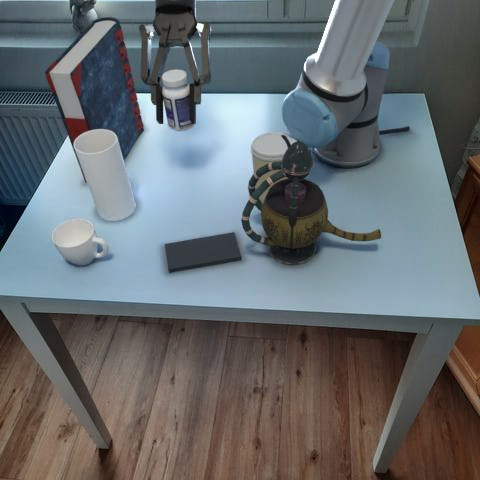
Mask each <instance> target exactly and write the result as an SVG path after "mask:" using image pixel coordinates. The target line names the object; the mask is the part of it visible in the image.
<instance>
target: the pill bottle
mask: <svg viewBox="0 0 480 480" xmlns="http://www.w3.org/2000/svg"><path fill="white" fill-rule="evenodd" d="M161 81H162V84H163V86H162V88H163V89H162V96H163V107H164V111H165V116H166V121H167V125H168V127H169V129H171V130H173V131H175V132H186V131H188V130H190V129H193V128H194V126H195V125H196V124H192V123H191V121H190V105H189V84H190V83H188V75H187V71H184V69H183V70H182V69H179V68H177V69H169V70H167V71H165V72H163V74H162V77H161Z"/></svg>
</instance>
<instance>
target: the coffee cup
mask: <svg viewBox="0 0 480 480" xmlns="http://www.w3.org/2000/svg"><path fill="white" fill-rule="evenodd" d="M281 135H285V136H286V137H287V138H288V140H289V142H290V144H291V145H292V144H293V143H294V142H296V139H294V138H293V137H292V136H291V134H290V133H286V132H281V131H270V132H265V133H262V134H259V135H258V136H256V137H255V138H254V139H253V140H252V142H251V144H250V153H251V159H252V168H253V174H254V173H255V172H256V171H257V170H258V169H259V168H260V167H262V166H264V165H266V164H268V163H271V162H275V161H282V159H283V156H284V154H285V152H286V150H287V149H288V147H287V144H286V142H285V141H284V139H283V138H282V137H281ZM278 171H280V170H273V171H269V172H268V173H266V174H264V175H262V176H261V178H260V179H259V180H258V181H257V183H256V186H255V190H256V189H257V188H258V187H259V186H260V185H261V184H262V182H263V181H265V180H266V179H267V178H268V177H270V176H271V175H273V174H274V173H276V172H278ZM285 179H288V178H287V177H286V178H285V177H284V178H282V179H280V180H278V181H276V182H275V183H277V182H279V181H281V180H285ZM275 183H274V184H275ZM274 184H272V185H271V186H270V187H268V188H267V190H266V191H265V192H264V193H263V194H262V195H261V196H260V197H259V199H260V201H261V202H262V203H263V201H264V199H265V197H266V194H267V192H268V191H269V189H270V188H271V187H272V186H273V185H274Z"/></svg>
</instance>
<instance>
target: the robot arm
mask: <svg viewBox="0 0 480 480" xmlns="http://www.w3.org/2000/svg"><path fill="white" fill-rule="evenodd" d="M394 2H395V0H335V1H334V4H333V6H332V9H331V13H330V15H329V19H328V21H327V24H326V27H325V30H324V32H323V36H322V39H321V42H320V44H319V47H318V50H317V51H316V52H314V53H312V54H310V55H309V56H308V57H307V58H306V61H305V62H304V66H303V68H302V71H301V74H300V77H299V80H298V83H297V85H296V87H295V89H292V90H290V91H289V93H287V95H286V97H285V98H284V100H283V101H282V104H281V118H282V121H283V124H284V125H285V127H286V130H287V132H288V134H289V135H291V136H292V137H293V138H294V139H296V141H300V142H302V143H304V144H305V145H306V146H307V148H310V149H312V150H313V153H314V155H315V156H316V157H317V159H319V160H320V161H321V162H323V163H325V164H327V165H329V166H333V167H336V168H344V169H354V168H360V167H364V166H367V165H369V164H371V163H372V162H374V161H375V160H376V159H377V157H378V156H379V153H380V149H381V136H383V135H389V134H398V133H399V134H400V133H404V132H408V131H410V129H411V127H410V126H404V127H397V128H387V129H383V130H382V129H381V130H380V129H379V122H378V119H379V114H380V108H381V105H382V104H381V103H382V99H383V94H384V91H385V85H386V80H387V76H388V71H389V69H390V65H389V64H390V59H391V58H390V57H391V53H390V50H389V48H388V47H387V46H386V45H385V44H384V43H381V42H379V41H377V40H378V39H379V36H380V34H381V31H382V29H383V27H384V24H385V22H386V20H387V18H388V16H389V13H390V12H391V9H392V7H393V6H394ZM196 14H197V0H154V18H153V20H152V23H150V24H147V25H145V24H143V23H142V24H139V26H138V30H139V34H140V37H141V47H140V48H141V50H140V80H141V81H142V82H143V83H144V85H146V86H149V87H150V101H151V103H152V105H153V106H155V120H156V122H157V123H158V124H159V125H164V101H163V96H162V89H163V86H161V81H162V75H163V74H164V69H165V65H166V61H167V59H168V54H169V53H170V51H171V48H174V47H180V48H183V49H184V53H185V56H186V59H187V63H188V67H189V70H190V74H191V77H192V82H193V83H188V84H189V105H190V121H191V123H192V124H195V125H196V124H197V105H201V104H202V89H203V86H205V85H209V84H211V82H212V73H211V72H212V71H211V51H210V50H211V49H210V41H211V37H212V34H213V29H212V28H211V24H210V23H209V22H205V23H201V22H199V21H198V19H197V15H196ZM197 31H198V35H199V37H200V46H201V47H200V48H201V66H202V67H201V70H202V75H200V73H199V70H198V66H197V62H196V58H195V55H194V53H193V52H194V51H193V48H192V44H191V41H192V39H193V37H194V36H195V34H196V33H197ZM154 33H156V34H157V36H158V37H159V40H158V48H157V52H156V56H155V59H154V63H153V68H152V40H153V38H154ZM151 68H152V70H151Z"/></svg>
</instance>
